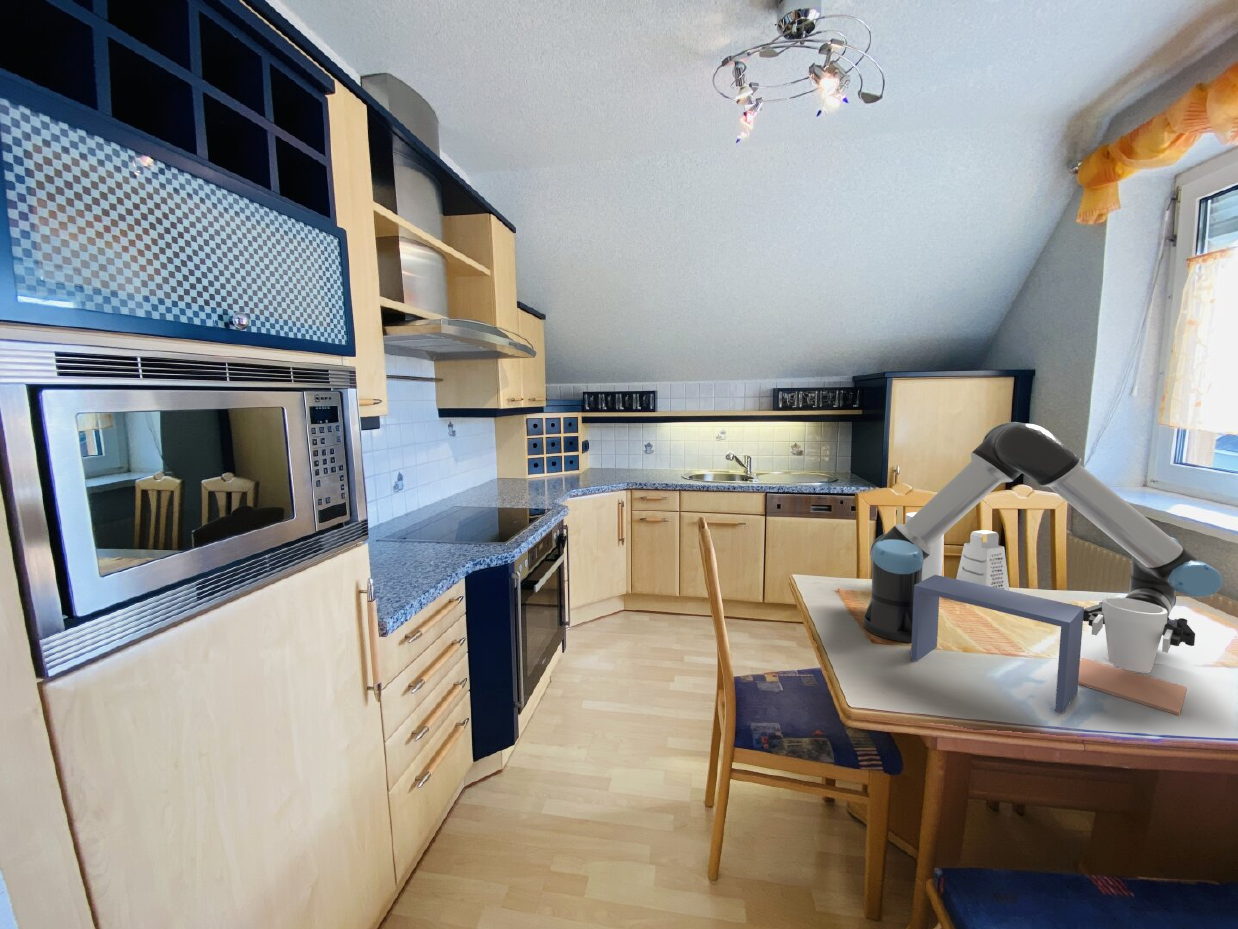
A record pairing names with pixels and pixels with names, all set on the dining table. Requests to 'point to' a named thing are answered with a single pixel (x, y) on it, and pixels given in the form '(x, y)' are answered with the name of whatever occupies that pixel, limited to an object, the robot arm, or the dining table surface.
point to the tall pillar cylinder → (931, 556)
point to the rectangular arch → (1003, 602)
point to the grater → (983, 561)
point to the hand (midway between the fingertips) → (1128, 636)
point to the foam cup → (1133, 632)
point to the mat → (1132, 686)
